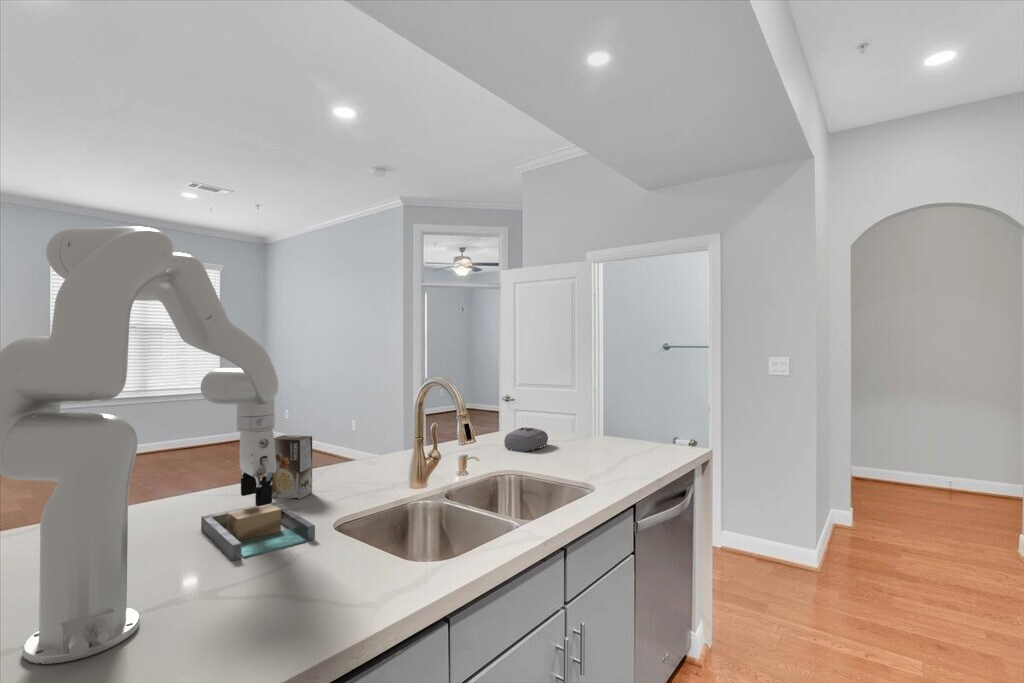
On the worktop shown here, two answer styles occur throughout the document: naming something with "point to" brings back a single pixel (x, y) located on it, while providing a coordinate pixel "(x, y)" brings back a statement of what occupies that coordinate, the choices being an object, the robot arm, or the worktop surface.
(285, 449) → the coffee box
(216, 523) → the bay
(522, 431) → the grey rounded bag
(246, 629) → the worktop surface
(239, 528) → the tan cardboard box
